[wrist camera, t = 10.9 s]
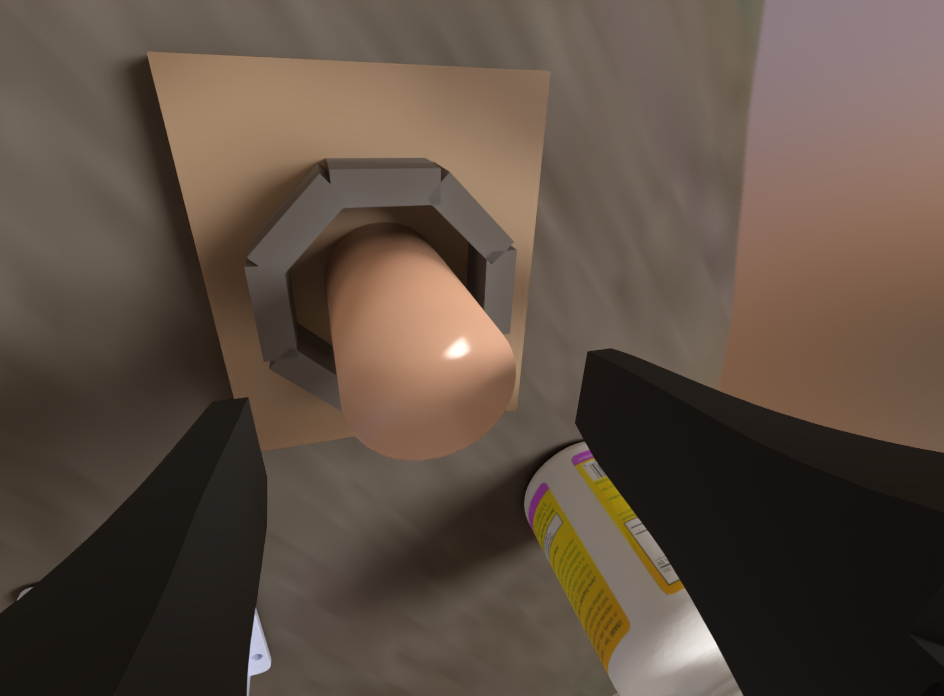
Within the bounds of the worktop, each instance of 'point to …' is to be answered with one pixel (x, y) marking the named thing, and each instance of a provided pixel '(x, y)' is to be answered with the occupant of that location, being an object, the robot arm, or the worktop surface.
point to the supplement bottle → (621, 584)
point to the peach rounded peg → (412, 346)
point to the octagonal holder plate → (344, 202)
